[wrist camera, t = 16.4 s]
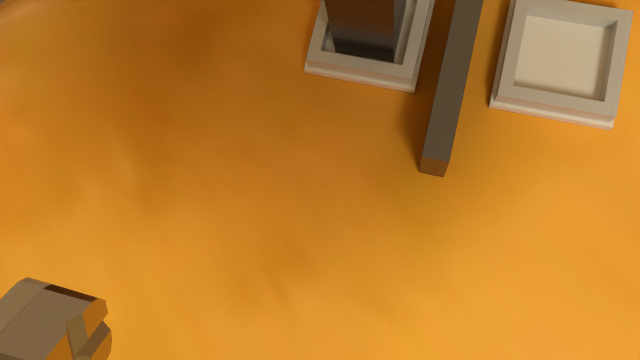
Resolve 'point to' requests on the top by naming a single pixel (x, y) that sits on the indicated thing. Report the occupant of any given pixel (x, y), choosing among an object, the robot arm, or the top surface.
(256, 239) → the top surface
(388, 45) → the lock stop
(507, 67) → the grey square frame
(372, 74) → the socket
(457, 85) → the door edge rail
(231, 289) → the top surface
